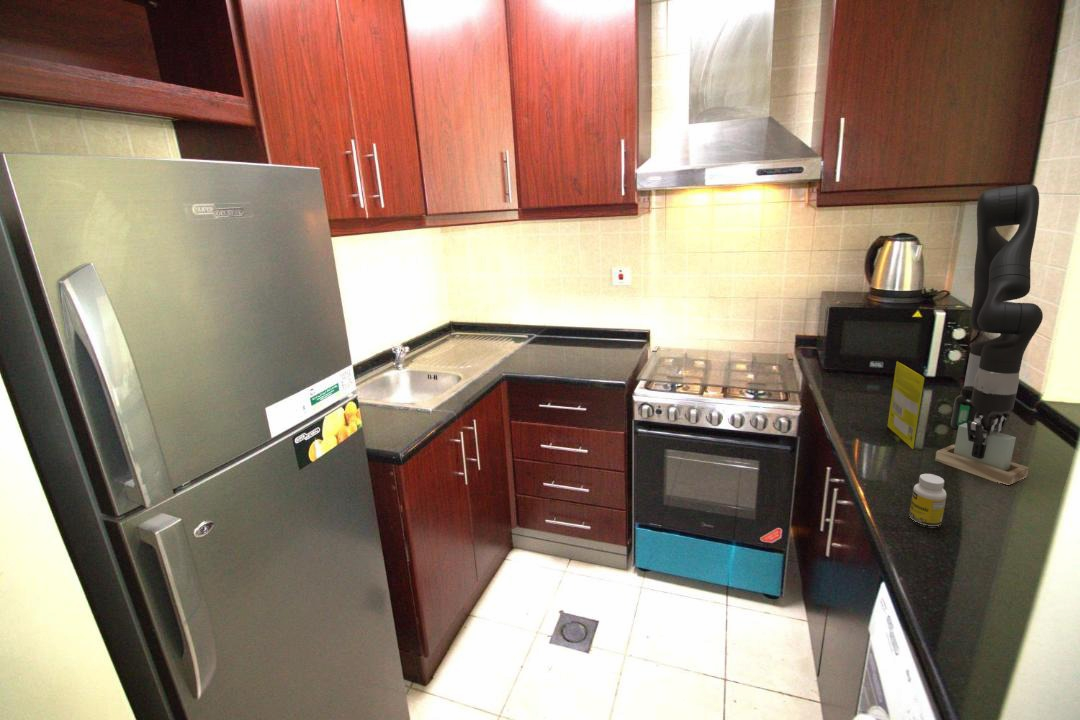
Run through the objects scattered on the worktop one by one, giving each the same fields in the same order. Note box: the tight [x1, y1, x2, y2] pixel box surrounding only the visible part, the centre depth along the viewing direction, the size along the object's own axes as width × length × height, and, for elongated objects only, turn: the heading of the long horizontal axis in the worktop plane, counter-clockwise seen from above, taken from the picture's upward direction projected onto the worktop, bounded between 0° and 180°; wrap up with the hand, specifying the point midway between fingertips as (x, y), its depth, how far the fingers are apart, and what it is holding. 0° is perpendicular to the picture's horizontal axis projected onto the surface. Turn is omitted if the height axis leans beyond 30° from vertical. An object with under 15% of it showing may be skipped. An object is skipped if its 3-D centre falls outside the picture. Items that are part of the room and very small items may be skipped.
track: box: [934, 443, 1030, 485], centre depth 123 cm, size 8×15×3 cm, turn 25°
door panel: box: [954, 423, 1017, 471], centre depth 122 cm, size 3×10×8 cm, turn 25°
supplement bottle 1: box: [908, 473, 947, 527], centre depth 104 cm, size 5×5×10 cm
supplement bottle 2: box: [950, 385, 978, 431], centre depth 143 cm, size 7×7×12 cm
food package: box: [887, 360, 925, 450], centre depth 139 cm, size 15×1×20 cm, turn 168°
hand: (981, 455), depth 123 cm, fingers closed on door panel, 3 cm apart
